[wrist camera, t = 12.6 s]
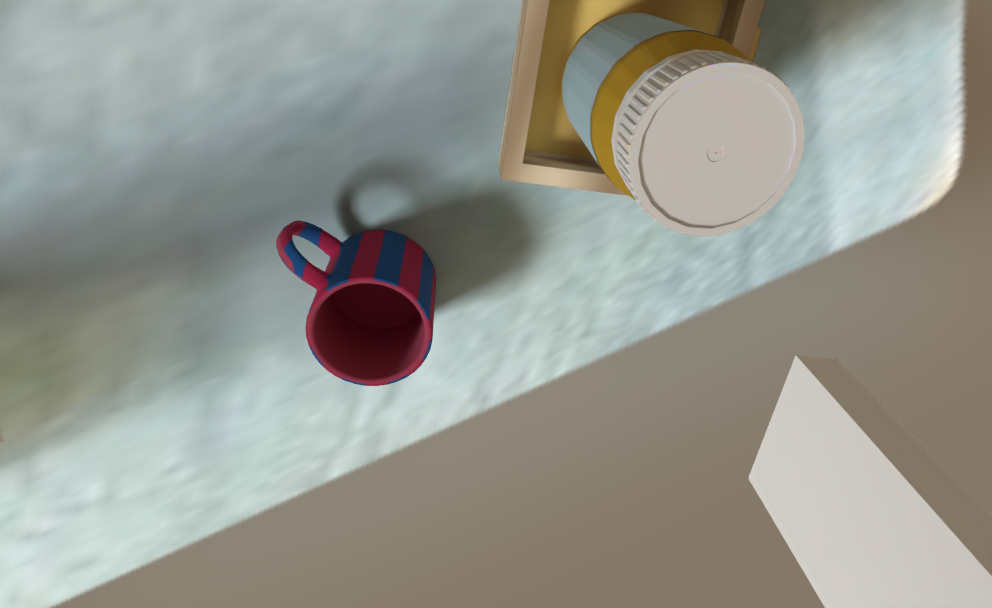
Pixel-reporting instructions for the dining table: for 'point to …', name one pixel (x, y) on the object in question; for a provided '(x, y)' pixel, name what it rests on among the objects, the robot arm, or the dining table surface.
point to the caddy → (538, 71)
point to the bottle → (682, 122)
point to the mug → (366, 302)
